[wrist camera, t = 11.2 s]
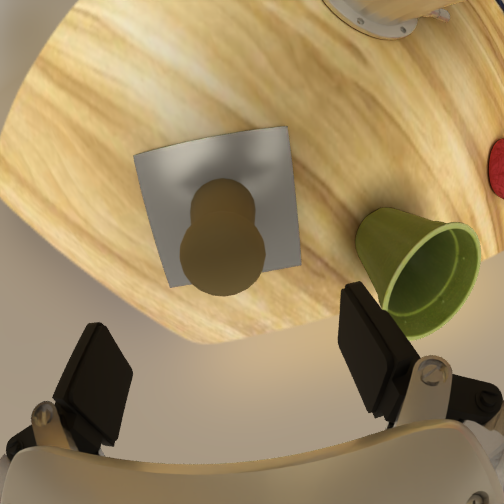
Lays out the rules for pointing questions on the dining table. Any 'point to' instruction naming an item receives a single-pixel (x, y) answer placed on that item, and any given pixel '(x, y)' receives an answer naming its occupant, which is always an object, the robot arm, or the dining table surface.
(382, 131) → the dining table surface
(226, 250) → the brown pawn
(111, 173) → the dining table surface
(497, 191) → the wine bottle
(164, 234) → the tile
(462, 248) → the plant pot
